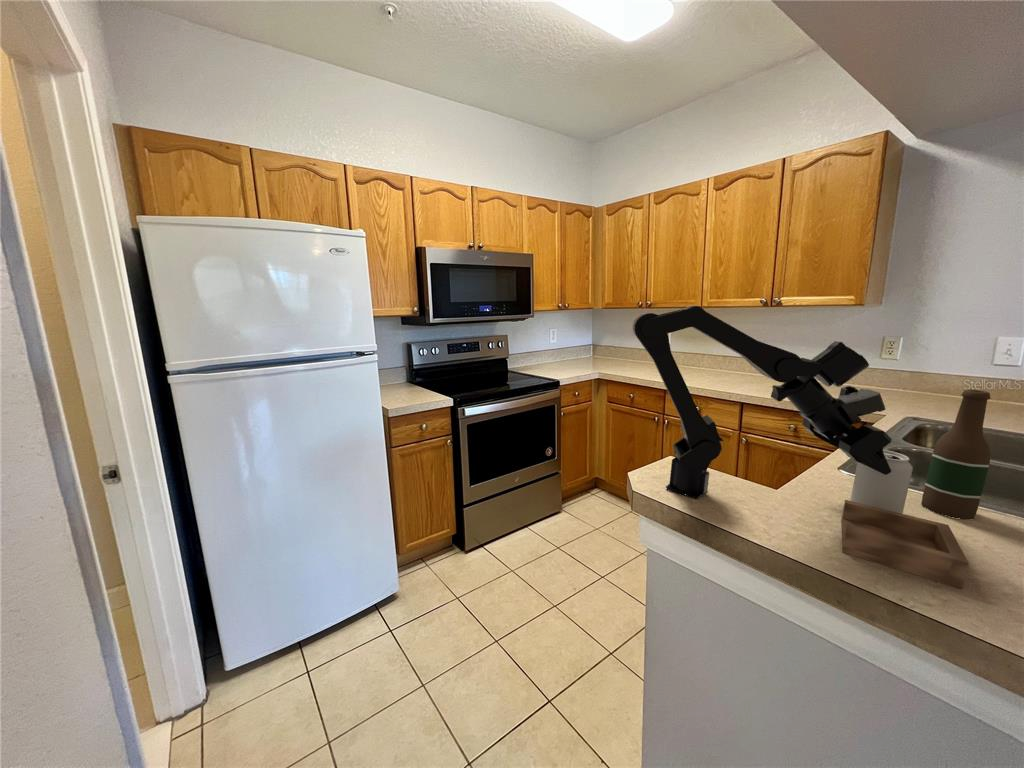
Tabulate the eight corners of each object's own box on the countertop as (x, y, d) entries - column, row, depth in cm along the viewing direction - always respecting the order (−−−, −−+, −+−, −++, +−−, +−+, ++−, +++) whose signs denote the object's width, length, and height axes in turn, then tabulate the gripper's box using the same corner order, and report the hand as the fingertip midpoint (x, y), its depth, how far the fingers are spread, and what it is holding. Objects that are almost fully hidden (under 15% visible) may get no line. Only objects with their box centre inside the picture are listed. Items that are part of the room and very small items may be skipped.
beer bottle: (928, 514, 76) (958, 392, 72) (912, 497, 83) (938, 385, 79) (986, 525, 73) (1021, 397, 68) (964, 507, 80) (994, 389, 75)
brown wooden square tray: (842, 552, 63) (846, 529, 63) (841, 519, 73) (845, 499, 73) (961, 588, 55) (968, 563, 55) (942, 547, 65) (948, 524, 65)
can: (907, 526, 72) (922, 463, 69) (854, 515, 75) (866, 455, 73) (893, 509, 78) (906, 451, 76) (844, 499, 82) (855, 443, 79)
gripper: (888, 383, 64) (956, 455, 64) (828, 367, 82) (881, 423, 82) (824, 426, 68) (889, 494, 67) (780, 402, 85) (830, 456, 85)
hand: (872, 463), depth 75 cm, fingers open, 9 cm apart
